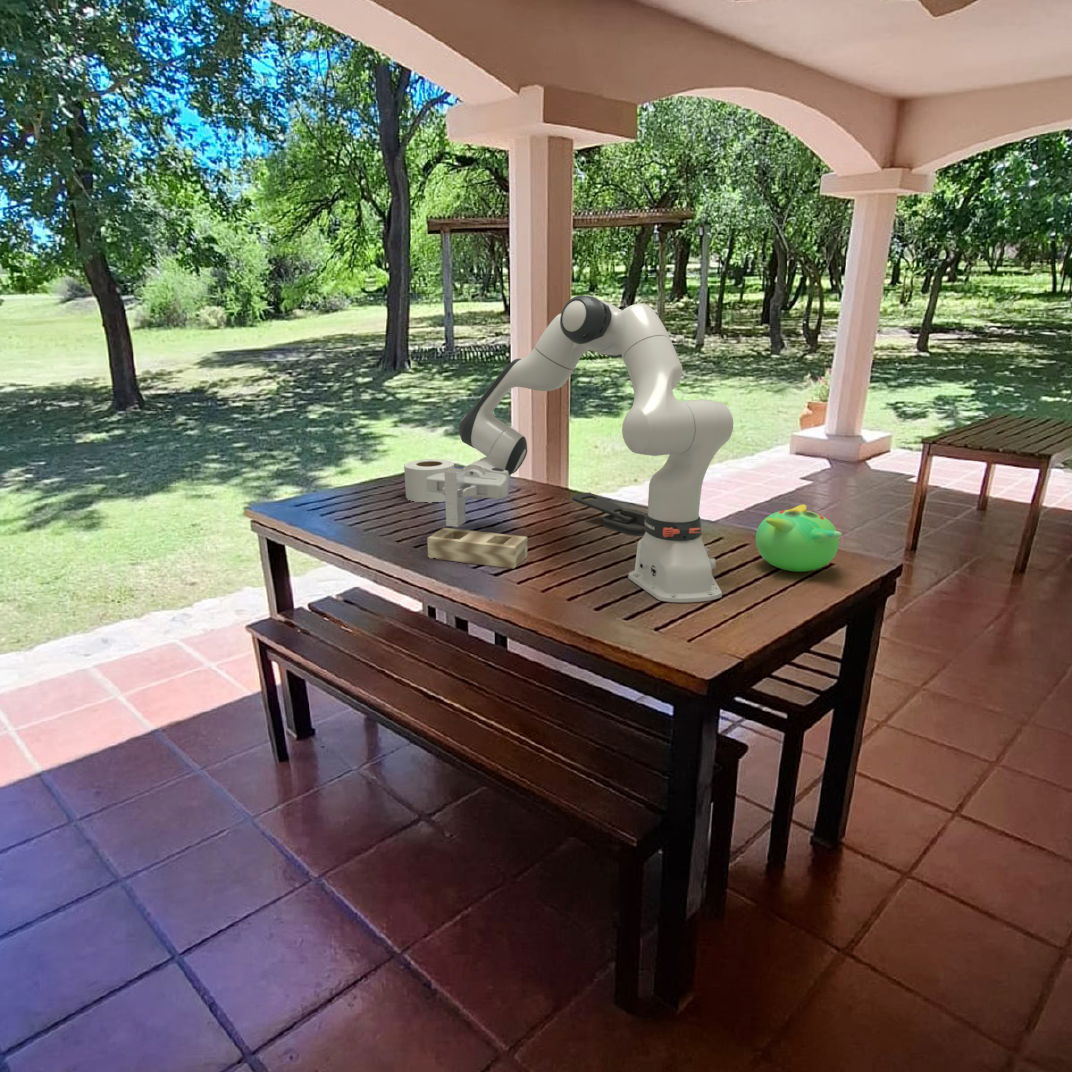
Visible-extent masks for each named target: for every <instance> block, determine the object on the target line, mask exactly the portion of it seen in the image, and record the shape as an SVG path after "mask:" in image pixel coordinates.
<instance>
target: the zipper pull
mask: <svg viewBox="0 0 1072 1072" xmlns="http://www.w3.org/2000/svg"><path fill="white" fill-rule="evenodd" d="M571 499H572V501H574V502H577V503H579V504H582V505H583V506H587V507H589V508H592V509H595V510H597V511H600V512H603V513H605V514H607V515H605V516H604V517H603V518H602V524H601V525H602V527H603V528H607V529H610V530H612V531H616V532H619V533H622V534H624V535H627V536H635V537H643V536H644V534H645V532H646V531H645V517H646V514H647V513H648V512H644V511H639V510H636V509H632V508H625V507H622V506H621V505H618V504H616V503H614V502H611V501H609V500H607V499H605V498H603V497H601V496H599V495H597V494H594V493H593V492H583V493H579V494H576V495H574V496H572V498H571ZM586 499H589V500H586Z"/></svg>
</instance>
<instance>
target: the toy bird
mask: <svg viewBox="0 0 1072 1072" xmlns="http://www.w3.org/2000/svg"><path fill="white" fill-rule="evenodd" d="M807 507H808V506H807V505H806V504H804V503H803V504H799V505H797V506H795V507H793V508H791V509H782V510H780V511H776V512H773V513H771V514H770V515H768V516H767V517H765V518H764V519H763V520H762V521H761V522H760V524H759V525H758V527H757V530H756V533H755V547H756V548H757V551H758V553H759V555H760V556H761V557H762V559H763V560H764V561H766V563H768V564H770V565H771V566H774V567H776V568H779V569H781V570H784V571H787V572H788V571H789V572H795V573H797V572H798V573H801V572H804V573H805V572H812V571H817V570H819V569H821V568H823V567H825V566H827V565H828V564H829V563H830V562H831V561H832V560H833V559H834V558H835V556H836V555H837V553H838V549H839V546H840V538H841V537H842V536H843V535H842V534H843V533H842V532H841V531H837V529H836V527H835V525H834V524H833V522H831V521H830V520H829V519H828V518H827V517H825V516H823V515H821V514H820V513H817V512H814V511H811V510H807Z"/></svg>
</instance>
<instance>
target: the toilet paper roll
mask: <svg viewBox="0 0 1072 1072" xmlns="http://www.w3.org/2000/svg"><path fill="white" fill-rule="evenodd" d="M403 468H404V469H403V470H404V486H405V487H404V488H405V499H406V498H407V499H408V500H407V499H406V500H407V501H409V500H411V501H410V502H412V501H414V502H413V503H416V502H428V503H427V504H433V503H432V502H439V503H444V502H445V495H443V494H442V493H435V492H428V491H427V489H426V478H427V477H429V476H432V475H435V474H438V473H445V472H446V471H448V470H450V469H452V468H455V463H454V461H451V460H447V459H439V458H438V459H435V458H433V459H419V460H413V461H408V462H407V463H404V464H403Z"/></svg>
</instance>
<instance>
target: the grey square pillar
mask: <svg viewBox="0 0 1072 1072" xmlns="http://www.w3.org/2000/svg"><path fill="white" fill-rule="evenodd" d="M462 488H465V472H464V469H463V468H456V467H454V468H452V469H450V470H448V471H446V472H445V501H444V502H445V525H446V526H448V527H453V528H454V527H457V528H458V527H460V526H462V525H463V524H465V523H466V522H467V521H466V520H467V519H466V497H460V496H459V494H460V493H459V491H460V489H462Z"/></svg>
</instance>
